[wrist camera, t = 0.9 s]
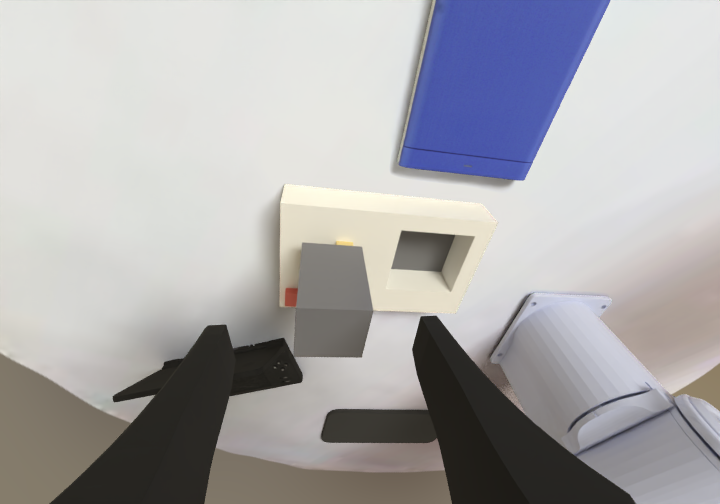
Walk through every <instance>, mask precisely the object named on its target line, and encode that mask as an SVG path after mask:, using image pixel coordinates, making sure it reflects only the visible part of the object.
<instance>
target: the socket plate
mask: <svg viewBox="0 0 720 504" xmlns="http://www.w3.org/2000/svg"><path fill="white" fill-rule="evenodd" d="M497 224H498V222H497V221H496V220H495V218H494V217H493V216H492V215H491V214H490V213H489V212H488V210H487V209H486V208H485V207H484V206H483V205H482V204H479V203H470V202H460V201H450V200H440V199H430V198H420V197H410V196H400V195H390V194H380V193H370V192H360V191H350V190H340V189H330V188H320V187H310V186H300V185H290V184H285V185H284V189H283V193H282V198H281V202H280V302H279V307H292V308H296V303H297V292H298V281H299V270H300V260H301V249H302V242H304V243H318V244H332V245H336V241H345V242H353V246H360V247H362V249H363V255H364V261H365V266H366V272H367V278H368V283H369V289H370V295H371V300H372V306H373V310H374V311H401V312H428V313H455V314H456V312H457V310H458V308H459V305H460V303H461V301H462V299H463V297H464V295H465V293H466V290H467V288H468V286H469V284H470V282H471V280H472V278H473V276H474V273H475V271H476V269H477V267H478V265H479V263H480V261H481V258H482V256H483V254H484V252H485V250H486V248H487V246H488V243H489V241H490V239H491V237H492V235H493V233H494V231H495V229H496V226H497Z"/></svg>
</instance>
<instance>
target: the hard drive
mask: <svg viewBox="0 0 720 504" xmlns="http://www.w3.org/2000/svg"><path fill="white" fill-rule="evenodd" d="M609 2H610V0H432V5H431V9H430V14H429V19H428V23H427V28H426V32H425V37H424V41H423V46H422V50H421V55H420V59H419V64H418V69H417V73H416V78H415V82H414V87H413V91H412V96H411V101H410V105H409V110H408V114H407V119H406V123H405V128H404V132H403V137H402V142H401V146H400V150H399V155H398V159H397V162H398V164H399V166H402V167H407V168H414V169H422V170H432V171H441V172H449V173H459V174H467V175H476V176H484V177H494V178H503V179H511V180H524V179H525V177H526V175H527V173H528V171H529V169H530V167H531V165H532V163H533V160H534V158H535V156H536V154H537V152H538V150H539V148H540V146H541V144H542V142H543V139H544V137H545V135H546V133H547V131H548V129H549V127H550V125H551V123H552V121H553V118H554V116H555V114H556V112H557V110H558V108H559V106H560V104H561V102H562V100H563V98H564V95H565V93H566V91H567V89H568V88H569V86H570V84H571V81H572V79H573V77H574V75H575V73H576V71H577V69H578V67H579V65H580V63H581V61H582V59H583V56H584V54H585V52H586V50H587V48H588V46H589V44H590V42H591V40H592V38H593V36H594V33H595V31H596V29H597V28H598V25H599V23H600V21H601V19H602V17H603V15H604V13H605V11H606V9H607V7H608V4H609Z"/></svg>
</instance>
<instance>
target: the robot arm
mask: <svg viewBox="0 0 720 504" xmlns="http://www.w3.org/2000/svg"><path fill="white" fill-rule="evenodd" d="M611 303H612V300H611V299H610V298H609V297H607V296H588V295H568V294H548V293H533V294H531V295H530V296H529V297H528V299H527V300H526V302H525V304H524V305H523V307H522V308H521V310H520V311H519V313H518V315H517V316H516V318H515V319H514V321H513V323H512V324H511V326H510V327H509V329H508V330H507V332H506V334H505V335H504V337H503V338H502V340H501V342H500V343H499V345H498V346H497V348H496V349H495V351H494V353H493V354H492V356H491V357H490V361H491V363H493V364H500V366H501V368H502V369H503V371H504V373H505V375H506V377H507V379H508V381H509V383H510V385H511V387H512V389H513V391H514V393H515V395H516V397H517V398H518V400H519V402H520V404H521V406H522V408H523V410H524V412H525V414H526V415H525V414H524V413H523V412H522V411H521V410H519V409H518V408H517V407H516V406H515V405H514V404H513V403H512V402H511V401H510V400H509V399H508V398H507V397H506V396H505V395H504V394H503V393H502V392H501V391H500V390H499V389H498V388H497V387H496V386H495V385H494V384H493V383H492V382H491V381H490V380H489V379H488V377H487V376H486V375H485V374H484V373H483V372H482V371H481V370H480V369H479V368H478V366H477V365H476V364H475V363H474V362H473V361H472V359H471V358H470V357H469V356H468V355H467V354H466V352H465V351H464V350H463V349H462V348H461V346H460V345H459V344H458V343H457V341H456V340H455V339H454V338H453V336H452V335H451V334H450V333H449V331H448V330H447V329H446V327H445V326H444V325H443V323H442V322H441V321H440V320H439V318H438V317H437V316H421V318H420V322H419V326H418V329H417V333H416V337H415V341H414V344H413V348H412V351H413V356H414V362H415V366H416V371H417V376H418V379H419V382H420V385H421V388H422V392H423V395H424V398H425V401H426V404H427V407H428V410H429V413H430V416H431V419H432V422H433V425H434V429H435V432H436V435H437V439H438V442H439V446H440V450H441V454H442V459H443V463H444V468H445V472H446V477H447V481H448V486H449V491H450V495H451V500H452V504H720V411H718V410H717V409H716V408H715V407H713V406H712V405H711V404H709V403H708V402H706V401H704V400H702V399H699V398H695V397H691V396H689V395H686V394H682V395H679V396H677V397H674V396H672V395H671V394H670V393H669V392H668V391H667V390H666V389H665V388H664V387H663V386H662V385H661V384H660V383H659V382H658V380H657V379H656V378H655V377H654V376H653V375H652V374H651V373H650V372H649V371H648V370H647V369H646V368H645V367H644V365H643V364H642V363H641V362H640V361H639V360H638V359H637V358H636V357H635V356H634V355H633V354H632V353H631V352H630V350H629V349H628V348H627V347H626V346H625V345H624V344H623V343H622V342H621V341H620V340H619V339H618V338H617V337H616V335H615V334H614V333H613V332H612V331H611V330H610V329H609V328H608V327H607V326H606V325H605V324H604V323H603V322H602V320H601V319H600V318H599V317H600V316H601V315H602V313H603V312H604V311H605V310H606V309H607V308H608V306H609V305H610V304H611ZM235 361H236V359H235V355H234V351H233V348H232V344H231V341H230V337H229V333H228V330H227V326H226V325H210V326H207V327H206V328H205V329H204V331H203V332H202V334H201V335H200V337H199V338H198V340H197V341H196V343H195V344H194V345H193V347H192V348H191V350H190V351H189V353H188V354H187V355H186V357H185V358H184V359H183V361H182V362H181V363H180V365H179V366H178V367H177V369H176V370H175V371H174V373H173V374H172V375H171V377H170V378H169V379H168V381H167V382H166V383H165V384H164V386H163V387H162V388H161V389H160V391H159V392H158V393H157V394H156V395H155V397H154V398H153V399H152V400H151V401H150V403H149V404H148V405H147V406H146V407H145V409H144V410H143V411H142V412H141V413H140V414H139V415H138V417H137V418H136V419H135V420H134V421H133V422H132V423H131V424H130V425H129V427H128V428H127V429H126V430H125V431H124V432H123V433H122V434H121V435H120V436H119V437H118V438H117V440H115V442H114V443H113V444H112V445H111V446H110V447H109V448H108V449H107V450H106V451H105V452H104V453H103V454H102V455H101V456H100V457H99V458H98V459H97V460H96V461H95V462H94V463H93V464H92V465H91V466H90V467H89V468H88V469H87V470H86V471H85V472H84V473H82V474H81V476H79V477H78V478H77V479H76V480H75V481H74V482H73V483H72V484H71V485H70V486H69V487H68V488H66V489H65V490H64V491H63V492H62V493H61V494H60V495H59V496H58V497H56V498H55V499H54V500H53V501H52V502H51V503H50V504H204V502H205V496H206V490H207V484H208V479H209V473H210V468H211V463H212V459H213V455H214V451H215V447H216V444H217V440H218V436H219V433H220V429H221V425H222V422H223V418H224V414H225V411H226V407H227V403H228V399H229V396H230V392H231V388H232V382H233V375H234V368H235Z"/></svg>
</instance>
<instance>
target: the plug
mask: <svg viewBox="0 0 720 504" xmlns="http://www.w3.org/2000/svg"><path fill="white" fill-rule="evenodd" d="M372 314H373V306H372V300H371V295H370V289H369V283H368V278H367V272H366V266H365V261H364V255H363V249H362V247H360V246H353V242H345V241H336V245H332V244H318V243H304V242H302V249H301V260H300V270H299V281H298V292H297V303H296V319H295V339H294V357H362V354H363V350H364V346H365V342H366V338H367V334H368V330H369V326H370V322H371V318H372Z"/></svg>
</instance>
